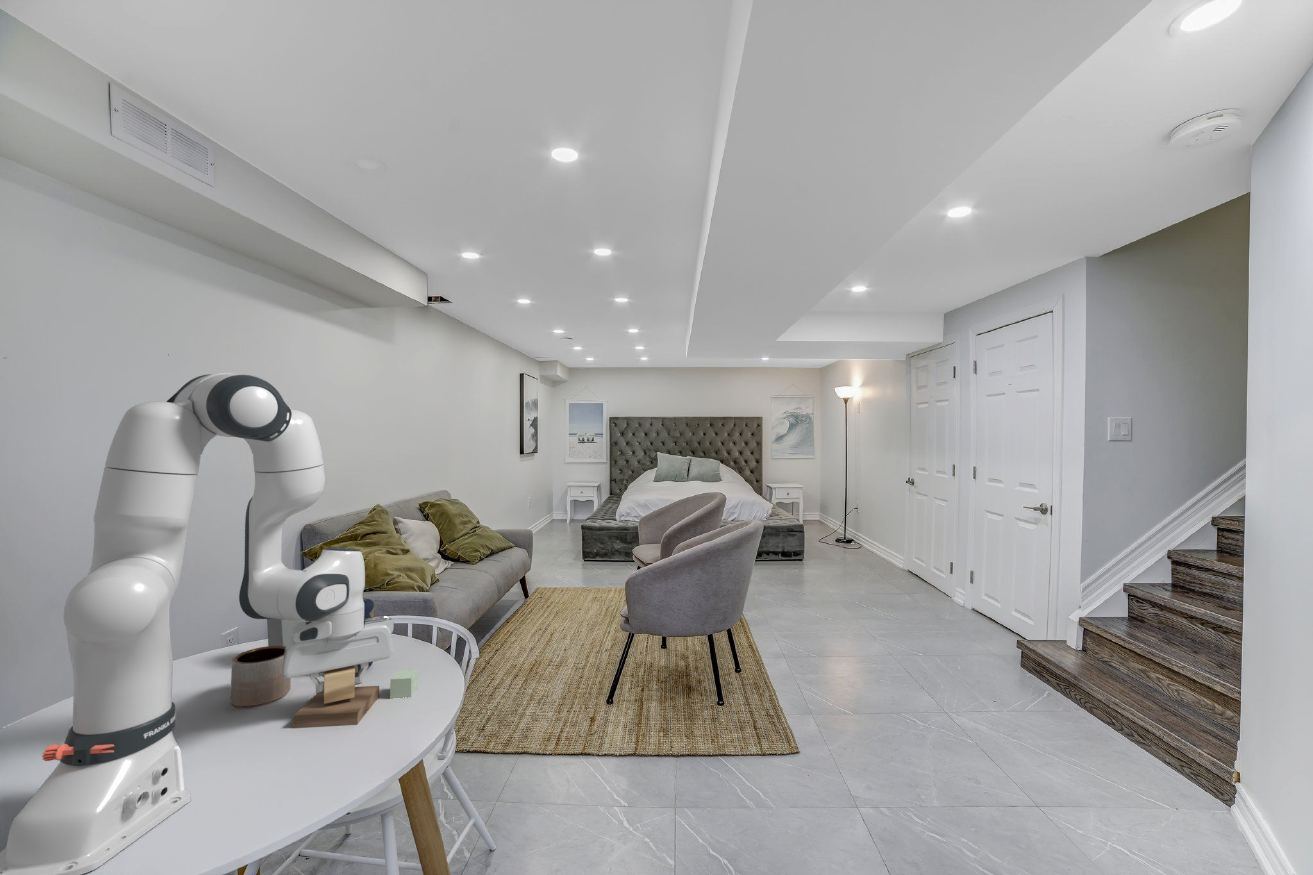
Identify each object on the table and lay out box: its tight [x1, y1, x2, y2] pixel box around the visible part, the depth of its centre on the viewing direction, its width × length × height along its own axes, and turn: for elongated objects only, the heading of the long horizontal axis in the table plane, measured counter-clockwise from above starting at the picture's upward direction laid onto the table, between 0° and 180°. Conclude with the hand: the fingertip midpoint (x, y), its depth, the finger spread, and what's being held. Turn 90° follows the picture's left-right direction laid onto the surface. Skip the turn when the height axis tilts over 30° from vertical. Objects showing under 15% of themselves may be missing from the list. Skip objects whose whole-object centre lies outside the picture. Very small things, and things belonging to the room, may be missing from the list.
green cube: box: [389, 669, 418, 700], centre depth 123 cm, size 4×4×4 cm
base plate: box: [293, 685, 380, 729], centre depth 115 cm, size 12×12×2 cm
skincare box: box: [266, 619, 301, 646], centre depth 139 cm, size 8×7×16 cm
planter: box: [229, 645, 292, 708], centre depth 121 cm, size 11×11×10 cm
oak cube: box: [323, 665, 356, 704], centre depth 115 cm, size 6×6×6 cm
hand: (339, 687), depth 114 cm, fingers closed on oak cube, 5 cm apart
